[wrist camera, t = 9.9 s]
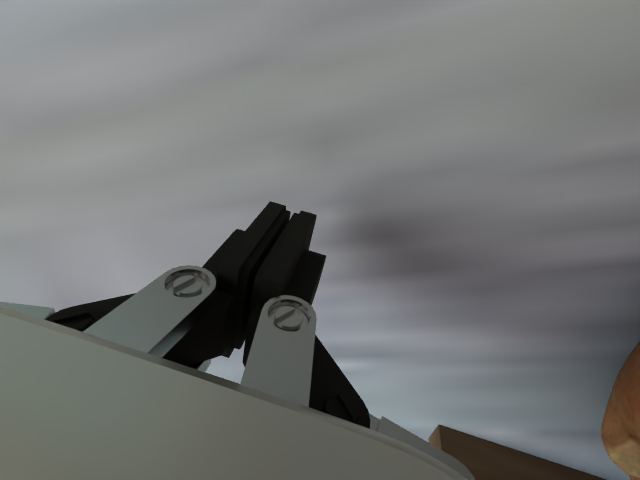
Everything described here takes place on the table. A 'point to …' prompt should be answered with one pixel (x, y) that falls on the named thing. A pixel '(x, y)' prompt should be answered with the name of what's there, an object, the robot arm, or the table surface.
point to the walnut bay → (499, 459)
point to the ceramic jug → (624, 418)
